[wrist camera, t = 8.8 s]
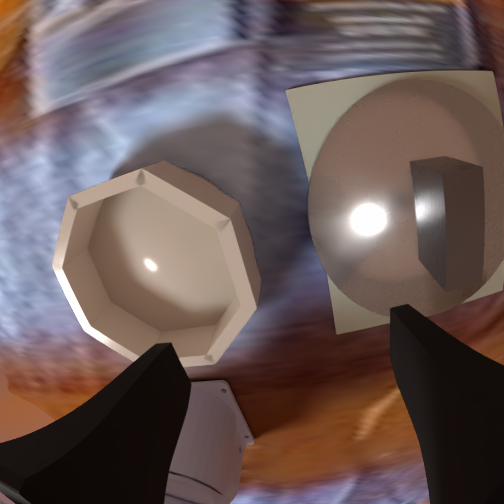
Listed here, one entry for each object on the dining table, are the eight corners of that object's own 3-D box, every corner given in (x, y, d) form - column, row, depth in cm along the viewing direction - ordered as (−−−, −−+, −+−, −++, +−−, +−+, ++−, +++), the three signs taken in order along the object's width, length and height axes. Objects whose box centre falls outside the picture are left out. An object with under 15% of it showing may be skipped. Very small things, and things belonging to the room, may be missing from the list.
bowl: (274, 319, 21) (272, 357, 18) (128, 338, 24) (107, 370, 20) (225, 141, 17) (209, 146, 14) (67, 197, 19) (31, 213, 16)
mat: (500, 287, 19) (502, 290, 18) (335, 331, 21) (336, 334, 21) (489, 71, 13) (492, 71, 13) (285, 90, 16) (285, 90, 15)
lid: (507, 283, 18) (541, 317, 14) (328, 330, 21) (336, 381, 16) (499, 79, 13) (547, 76, 8) (279, 101, 16) (277, 91, 11)
